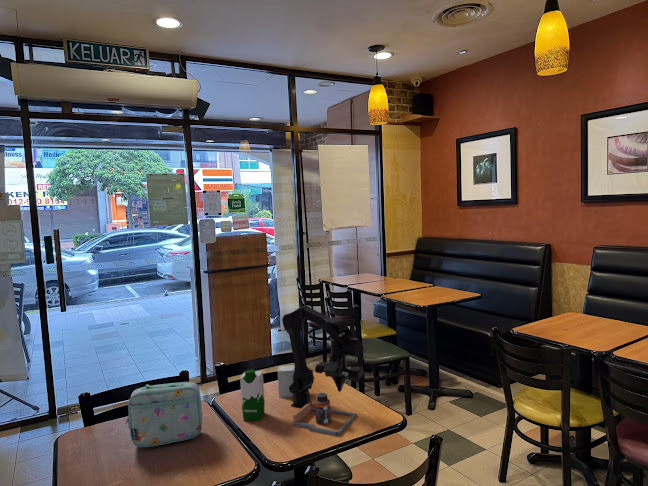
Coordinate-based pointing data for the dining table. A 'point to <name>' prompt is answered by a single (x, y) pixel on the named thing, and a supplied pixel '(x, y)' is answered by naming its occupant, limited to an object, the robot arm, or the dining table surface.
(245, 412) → the milk carton
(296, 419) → the grey flat frame
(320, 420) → the supplement bottle
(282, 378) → the supplement box
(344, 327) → the robot arm
